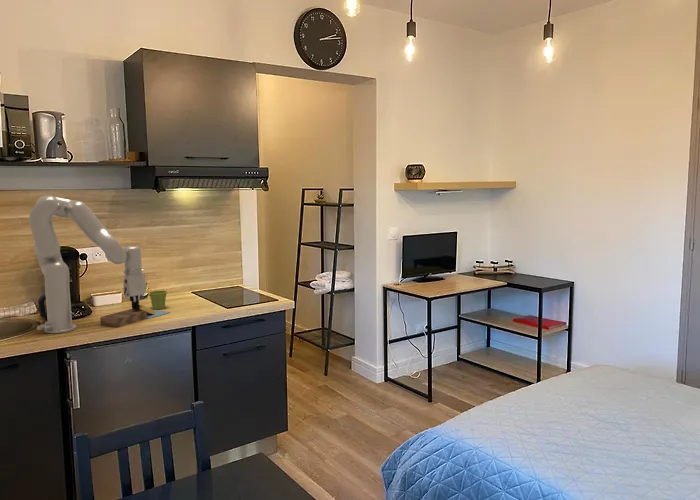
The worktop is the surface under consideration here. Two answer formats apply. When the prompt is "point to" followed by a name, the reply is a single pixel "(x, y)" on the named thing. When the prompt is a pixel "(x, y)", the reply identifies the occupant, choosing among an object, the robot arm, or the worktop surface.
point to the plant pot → (158, 299)
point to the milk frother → (42, 306)
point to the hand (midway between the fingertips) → (135, 309)
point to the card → (146, 309)
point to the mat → (157, 314)
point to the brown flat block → (123, 318)
